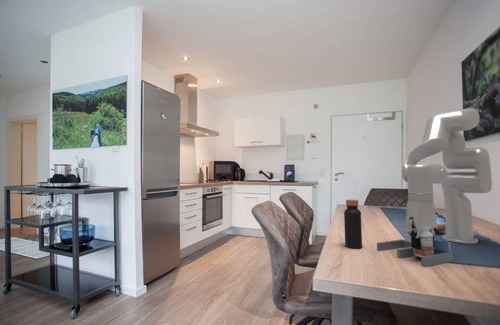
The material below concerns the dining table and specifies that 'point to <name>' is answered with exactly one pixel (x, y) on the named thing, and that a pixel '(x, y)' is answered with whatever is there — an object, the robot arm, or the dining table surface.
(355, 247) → the vinegar
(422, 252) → the pill bottle
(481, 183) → the robot arm
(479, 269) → the dining table surface
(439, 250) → the grey blue bar frame
